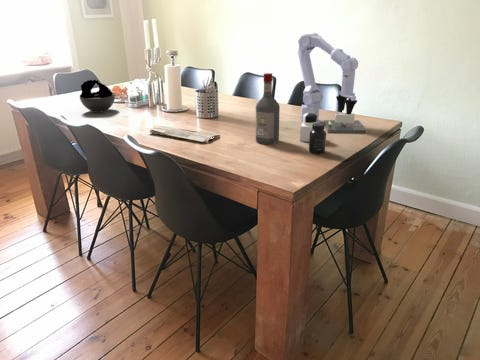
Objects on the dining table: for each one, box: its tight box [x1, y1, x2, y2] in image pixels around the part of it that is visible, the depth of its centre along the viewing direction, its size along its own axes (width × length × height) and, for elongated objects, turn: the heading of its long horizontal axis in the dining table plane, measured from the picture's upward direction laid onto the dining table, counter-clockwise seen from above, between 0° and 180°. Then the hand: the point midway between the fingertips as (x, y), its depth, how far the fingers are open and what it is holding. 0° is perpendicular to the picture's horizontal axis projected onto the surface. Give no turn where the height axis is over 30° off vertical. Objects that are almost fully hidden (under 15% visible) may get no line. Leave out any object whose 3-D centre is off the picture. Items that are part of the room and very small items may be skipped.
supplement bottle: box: [308, 122, 327, 155], centre depth 162 cm, size 7×7×12 cm
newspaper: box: [147, 125, 221, 144], centre depth 188 cm, size 35×12×4 cm, turn 61°
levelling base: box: [323, 119, 367, 134], centre depth 196 cm, size 18×18×3 cm
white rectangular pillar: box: [334, 112, 355, 125], centre depth 195 cm, size 3×9×6 cm, turn 80°
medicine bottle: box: [299, 113, 317, 143], centre depth 177 cm, size 7×7×12 cm
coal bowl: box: [79, 79, 116, 113], centre depth 233 cm, size 20×20×19 cm
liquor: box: [255, 72, 280, 145], centre depth 172 cm, size 9×9×30 cm
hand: (345, 112), depth 193 cm, fingers open, 7 cm apart
